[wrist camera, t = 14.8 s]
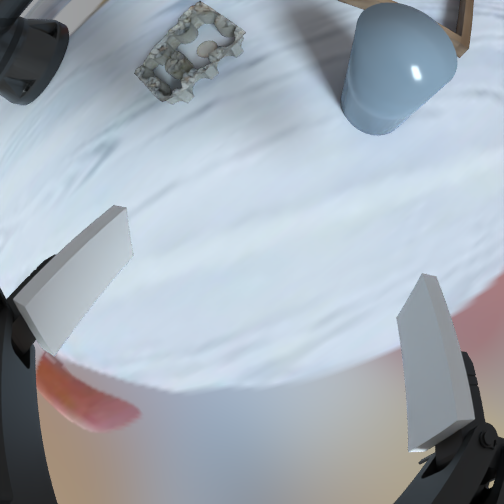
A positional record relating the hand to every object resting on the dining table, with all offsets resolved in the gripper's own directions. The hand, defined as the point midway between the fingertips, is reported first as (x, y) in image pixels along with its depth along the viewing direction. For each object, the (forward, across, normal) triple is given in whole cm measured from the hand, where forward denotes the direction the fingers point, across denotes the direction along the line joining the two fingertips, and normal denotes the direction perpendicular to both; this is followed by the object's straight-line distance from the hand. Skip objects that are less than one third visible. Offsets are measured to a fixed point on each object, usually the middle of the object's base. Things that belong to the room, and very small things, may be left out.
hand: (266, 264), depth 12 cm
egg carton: (+20, -12, +8) cm, 25 cm away
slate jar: (+18, +6, +6) cm, 20 cm away
